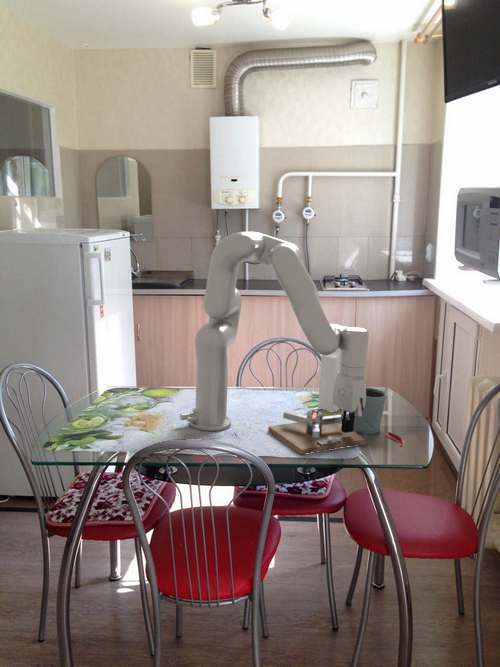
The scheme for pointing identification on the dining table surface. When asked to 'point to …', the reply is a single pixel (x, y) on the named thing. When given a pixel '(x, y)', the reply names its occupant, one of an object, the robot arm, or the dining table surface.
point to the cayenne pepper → (396, 438)
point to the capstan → (313, 421)
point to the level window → (329, 442)
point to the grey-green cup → (371, 412)
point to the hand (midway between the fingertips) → (347, 431)
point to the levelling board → (307, 443)
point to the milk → (328, 380)
